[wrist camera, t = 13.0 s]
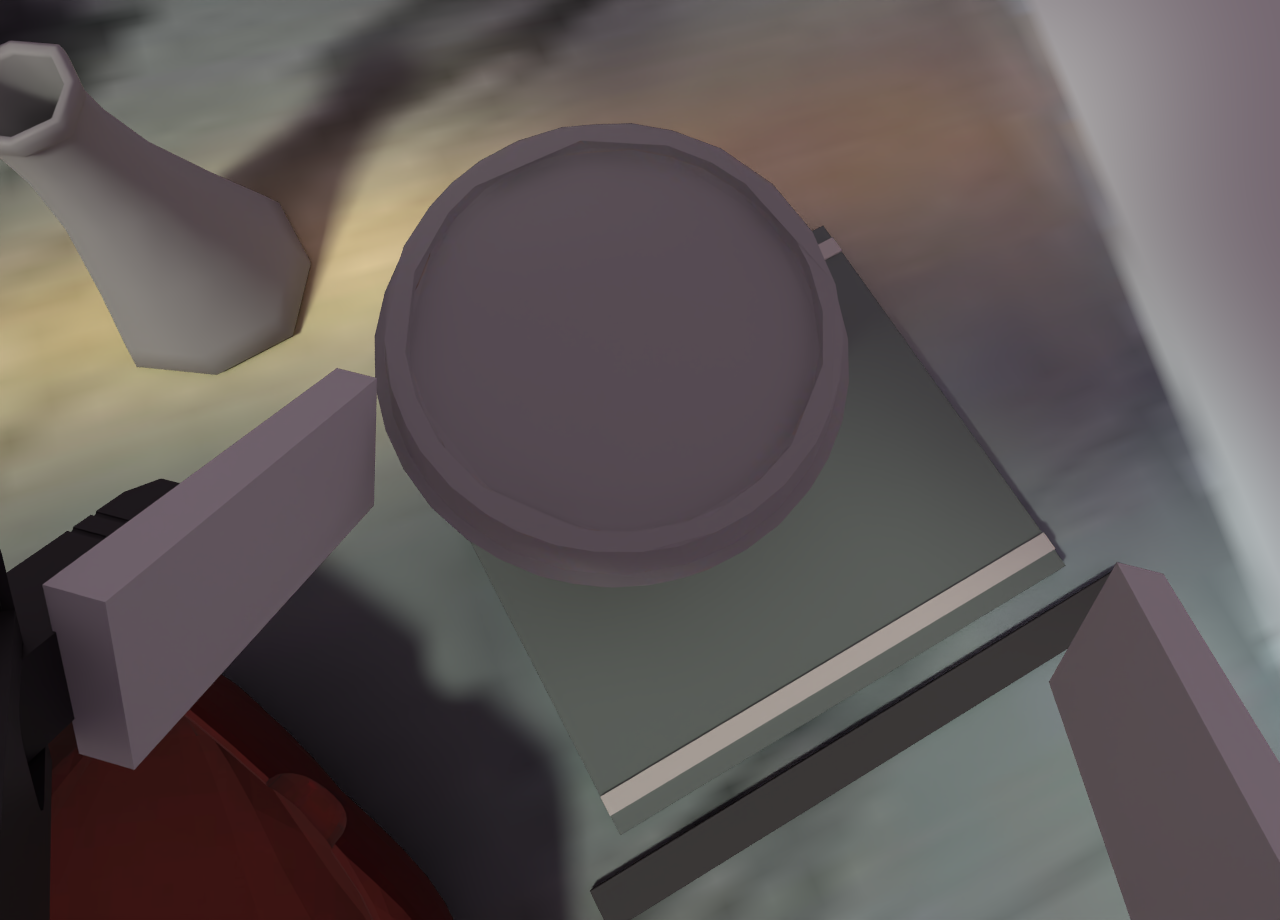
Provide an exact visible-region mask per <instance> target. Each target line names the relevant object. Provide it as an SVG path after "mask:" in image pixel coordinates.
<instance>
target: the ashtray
mask: <svg viewBox="0 0 1280 920" xmlns="http://www.w3.org/2000/svg"><path fill="white" fill-rule="evenodd" d="M48 747H49V751H50V755H51V759H52V792H51V859H50V920H453V918H452V916H451V914H450V912H449V910H448V908H447V906H446V904H445V902H444V901H443V899H442V898H441V896H440V895H439V893H438V892H437V890H436V889H435V887H434V886H433V884H432V883H431V881H430V880H429V878H428V877H427V876H426V875H425V873H424V872H423V871H422V870H421V869H420V868H419V867H418V866H417V864H416V863H415V862H414V861H413V860H412V859H411V858H410V857H409V855H408V854H407V853H406V852H405V851H404V850H403V849H402V848H401V847H400V846H399V845H398V844H397V843H396V842H395V841H394V840H393V839H392V838H391V837H390V836H389V835H388V834H387V833H386V832H385V831H384V830H383V829H382V828H381V827H380V826H379V825H378V824H377V823H376V822H375V821H374V820H373V819H372V818H371V817H369V816H368V815H367V814H366V813H365V812H364V811H363V810H362V809H361V808H360V807H359V806H358V805H356V804H355V803H354V802H353V801H352V800H351V799H350V798H349V797H348V796H347V795H346V794H345V793H343V792H342V791H341V790H340V788H339V787H338V786H337V785H336V784H335V783H334V781H333V780H332V779H331V778H330V777H329V776H328V774H327V773H326V772H325V771H324V770H323V769H322V768H321V766H320V765H319V764H318V763H317V762H316V761H315V760H314V759H313V758H312V757H311V755H310V754H309V753H308V752H307V751H306V750H305V749H304V748H303V747H302V746H301V745H300V744H299V743H298V742H297V741H296V740H295V739H294V738H293V737H292V736H291V735H290V734H289V733H288V732H287V731H286V730H285V729H284V728H283V727H282V726H281V725H280V724H279V723H278V722H277V721H275V720H274V719H273V718H272V717H271V716H270V715H269V714H268V713H267V712H266V711H265V710H263V709H262V707H261V706H260V705H259V704H258V703H257V702H255V701H254V700H253V699H252V698H251V697H250V696H249V695H248V694H247V693H245V692H244V691H243V690H242V689H241V688H240V687H239V686H238V685H236V684H235V683H233V682H232V681H230V680H229V679H227V678H226V677H224V676H223V675H220V676H219V677H218V678H217V679H216V680H215V681H214V682H213V684H212V685H211V686H210V687H209V688H208V689H207V690H206V691H205V692H204V694H203V695H202V696H201V697H200V698H199V699H198V700H197V701H196V702H195V703H194V705H193V706H192V707H191V708H190V709H189V710H188V711H187V712H186V713H185V715H184V716H183V717H182V718H181V719H180V720H179V721H178V722H177V723H176V724H175V726H174V727H173V728H172V729H171V730H170V731H169V732H168V733H167V734H166V735H165V737H164V738H163V739H162V740H161V741H160V742H159V743H158V744H157V745H156V747H155V748H154V749H153V750H152V751H151V752H150V753H149V754H148V755H147V756H146V758H145V759H144V760H143V761H142V762H141V763H140V764H139V765H138V766H137V768H136V769H135V770H133V769H130V768H127V767H123V766H120V765H116V764H113V763H109V762H106V761H103V760H99V759H96V758H92V757H89V756H86V755H82V754H79V750H78V746H77V741H76V737H75V732H74V728H73V723H72V722H71V723H70V724H69V725H68V726H67V727H66V728H65V729H64V730H63V731H62V732H60V733H59V734H58V735H57V736H56V737H55V738H54V739H53V740H52V741H51V742H50V743H49V744H48Z"/></svg>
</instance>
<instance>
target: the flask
mask: <svg viewBox="0 0 1280 920" xmlns="http://www.w3.org/2000/svg"><path fill="white" fill-rule="evenodd" d="M0 159H2V160H3V161H4V162H5V163H6V164H7V165H9V166H10V167H11V168H12V169H13V170H14V171H15V172H17V173H18V174H19V175H20V176H21V177H22V178H23V179H25V180H26V181H27V182H28V183H29V184H30V185H31V186H32V188H33V189H34V190H35V191H36V193H37V194H38V195H39V196H40V198H41V199H42V200H43V201H44V203H45V204H46V205H47V206H48V208H49V209H50V210H51V211H52V213H53V214H54V215H55V216H56V218H57V219H58V220H59V221H60V223H61V224H62V225H63V226H64V228H65V229H66V231H67V233H68V234H69V236H70V238H71V240H72V242H73V244H74V245H75V247H76V249H77V251H78V253H79V255H80V257H81V258H82V260H83V262H84V264H85V266H86V268H87V269H88V271H89V273H90V275H91V277H92V279H93V281H94V282H95V284H96V286H97V288H98V290H99V292H100V294H101V295H102V297H103V300H104V302H105V304H106V306H107V308H108V310H109V312H110V314H111V316H112V318H113V320H114V322H115V325H116V327H117V329H118V331H119V333H120V335H121V337H122V339H123V341H124V343H125V345H126V347H127V349H128V351H129V353H130V355H131V357H132V359H133V361H134V362H135V364H136V366H137V367H145V368H155V369H164V370H174V371H184V372H194V373H204V374H214V375H217V374H219V373H221V372H223V371H225V370H227V369H229V368H231V367H233V366H235V365H237V364H239V363H241V362H243V361H245V360H247V359H248V358H250V357H252V356H254V355H256V354H258V353H260V352H262V351H264V350H266V349H268V348H270V347H272V346H274V345H276V344H278V343H280V342H281V341H283V340H285V339H287V338H289V337H291V336H293V333H294V329H295V325H296V321H297V317H298V313H299V309H300V305H301V301H302V297H303V293H304V289H305V285H306V281H307V277H308V273H309V269H310V265H311V262H310V260H309V258H308V256H307V254H306V252H305V250H304V249H303V247H302V245H301V243H300V241H299V239H298V237H297V235H296V233H295V232H294V230H293V228H292V226H291V224H290V222H289V220H288V218H287V217H286V215H285V213H284V211H283V209H282V207H281V205H280V203H278V202H276V201H274V200H272V199H270V198H268V197H266V196H264V195H262V194H260V193H257V192H255V191H253V190H250V189H248V188H246V187H243V186H241V185H239V184H236V183H234V182H232V181H230V180H227V179H225V178H223V177H220V176H218V175H216V174H213V173H211V172H209V171H207V170H205V169H203V168H201V167H199V166H197V165H195V164H193V163H191V162H189V161H187V160H185V159H183V158H181V157H179V156H176V155H174V154H172V153H170V152H168V151H166V150H164V149H162V148H160V147H158V146H156V145H154V144H152V143H150V142H148V141H147V140H145V139H144V138H142V137H141V136H140V135H138V134H137V133H136V132H134V131H133V130H132V129H130V128H129V127H127V126H126V125H125V124H123V123H122V122H121V121H119V120H118V119H116V118H115V117H114V116H112V115H111V114H110V113H108V112H107V111H105V110H104V109H103V108H102V107H101V106H100V105H99V104H98V103H97V102H96V101H95V100H94V99H93V98H92V97H91V96H90V95H89V94H88V93H87V92H86V91H85V90H84V88H83V86H82V84H81V82H80V80H79V78H78V75H77V73H76V71H75V69H74V67H73V65H72V63H71V61H70V59H69V57H68V55H67V53H66V51H65V50H64V49H63V48H62V47H61V46H60V45H59V44H48V43H35V42H23V41H8V42H6V43H4V44H2V45H0Z"/></svg>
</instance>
